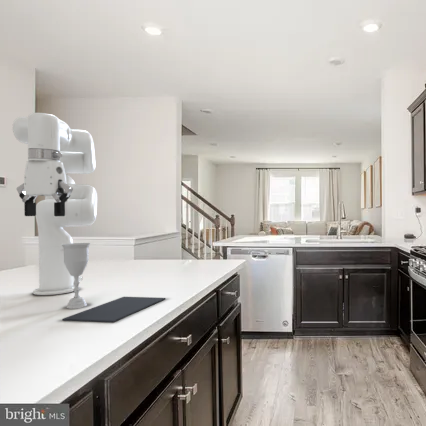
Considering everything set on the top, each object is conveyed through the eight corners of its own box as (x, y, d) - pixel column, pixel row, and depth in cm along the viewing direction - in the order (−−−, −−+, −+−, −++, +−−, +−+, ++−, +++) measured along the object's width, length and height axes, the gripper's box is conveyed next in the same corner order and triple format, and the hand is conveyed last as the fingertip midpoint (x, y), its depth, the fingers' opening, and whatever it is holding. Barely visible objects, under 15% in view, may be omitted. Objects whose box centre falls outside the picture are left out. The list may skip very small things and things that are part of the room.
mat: (123, 298, 117) (123, 296, 117) (165, 299, 116) (165, 297, 116) (62, 320, 94) (62, 318, 94) (113, 322, 92) (113, 320, 92)
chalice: (79, 309, 104) (79, 245, 103) (55, 309, 104) (55, 245, 104) (96, 303, 111) (95, 242, 111) (73, 303, 111) (73, 242, 111)
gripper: (81, 158, 111) (81, 216, 111) (29, 159, 113) (29, 215, 113) (60, 154, 103) (61, 216, 104) (5, 155, 105) (6, 216, 106)
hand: (44, 216), depth 108 cm, fingers open, 9 cm apart
